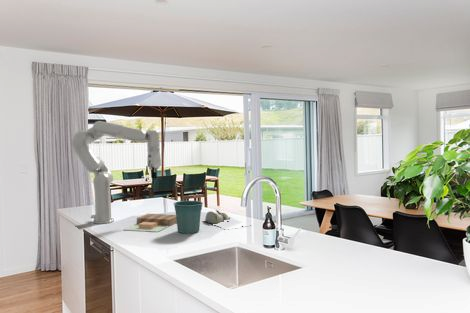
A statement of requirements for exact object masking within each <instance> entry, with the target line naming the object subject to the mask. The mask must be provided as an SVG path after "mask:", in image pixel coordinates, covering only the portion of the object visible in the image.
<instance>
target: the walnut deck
mask: <svg viewBox="0 0 470 313" xmlns="http://www.w3.org/2000/svg"><path fill="white" fill-rule="evenodd" d="M142 222H156V223H157V225H160V226H169V227H171V226H173V225H175V224H177V219H176V214H164V213H147V214H144V215H141V216H138V217H137V218H136V224H140V223H142Z"/></svg>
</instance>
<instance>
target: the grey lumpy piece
mask: <svg viewBox="0 0 470 313" xmlns="http://www.w3.org/2000/svg"><path fill="white" fill-rule="evenodd" d="M230 218H231V217H228V216H227V213H224V212H221V211H219V210H217V209H215V212H214V211H208V212H207V213H206V215H205V220H202V221H201V222H202V223H204V222H205V224H208V225H210V224H211V226H213V224H218V223H220V222H224V220H230ZM227 222H229V221H227Z"/></svg>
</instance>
